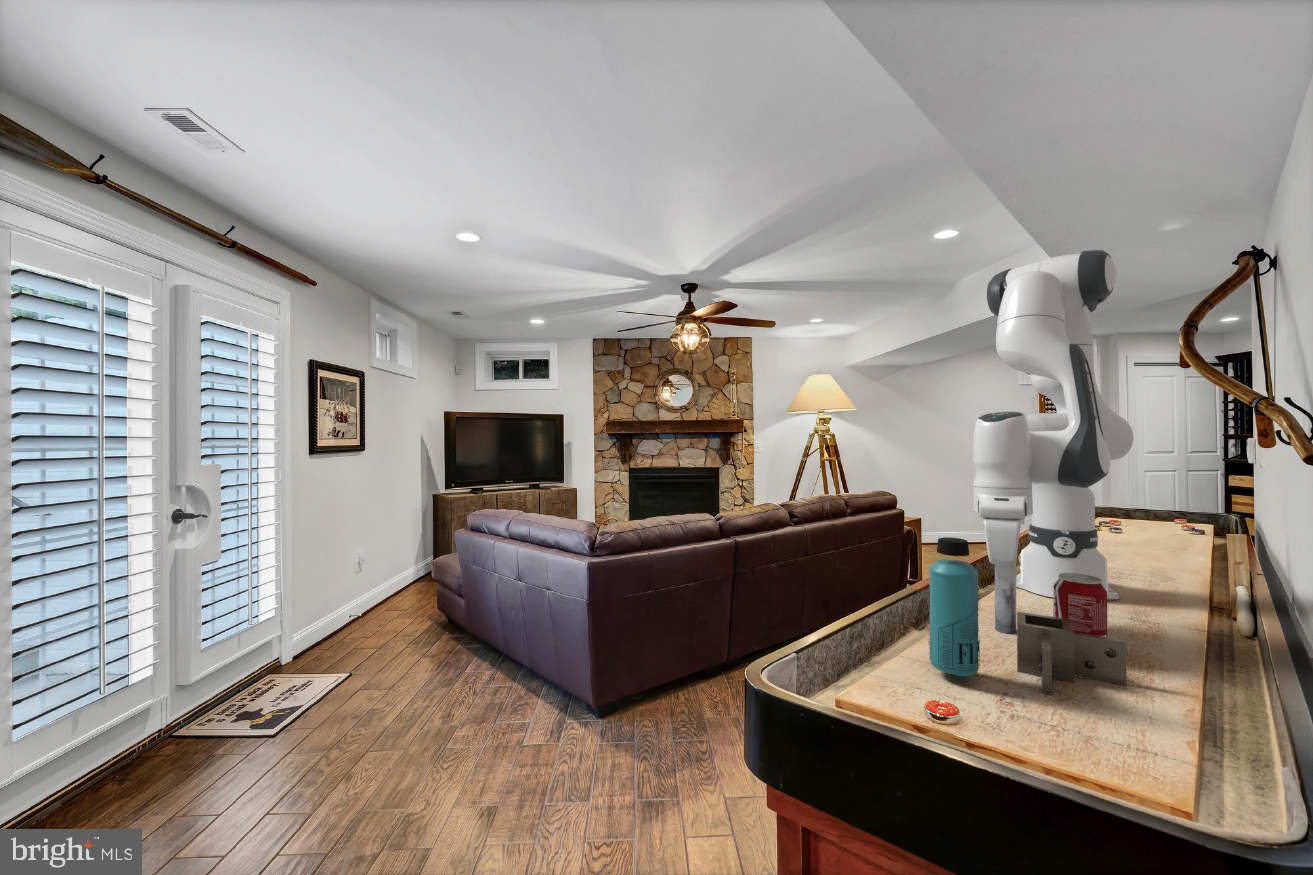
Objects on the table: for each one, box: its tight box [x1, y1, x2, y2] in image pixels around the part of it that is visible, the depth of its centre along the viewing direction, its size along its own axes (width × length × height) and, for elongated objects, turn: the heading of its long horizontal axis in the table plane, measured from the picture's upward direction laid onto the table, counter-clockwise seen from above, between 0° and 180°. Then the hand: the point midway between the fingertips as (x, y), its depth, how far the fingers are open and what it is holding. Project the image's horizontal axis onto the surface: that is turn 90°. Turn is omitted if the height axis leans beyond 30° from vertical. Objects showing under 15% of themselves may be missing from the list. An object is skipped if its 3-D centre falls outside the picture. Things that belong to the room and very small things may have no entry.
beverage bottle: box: [928, 536, 981, 677], centre depth 78 cm, size 6×7×20 cm
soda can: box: [1052, 573, 1108, 637], centre depth 86 cm, size 7×7×12 cm
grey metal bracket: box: [1016, 611, 1128, 696], centre depth 76 cm, size 13×13×7 cm
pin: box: [994, 562, 1017, 635], centre depth 96 cm, size 3×3×12 cm
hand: (1004, 581), depth 95 cm, fingers open, 8 cm apart
